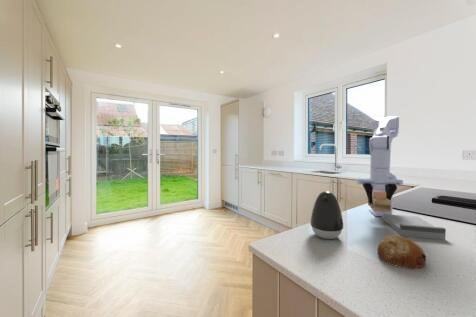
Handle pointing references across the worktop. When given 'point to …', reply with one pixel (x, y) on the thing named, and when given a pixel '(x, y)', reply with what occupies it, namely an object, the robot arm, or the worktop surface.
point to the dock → (414, 227)
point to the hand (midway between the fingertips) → (378, 203)
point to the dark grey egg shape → (326, 216)
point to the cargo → (379, 194)
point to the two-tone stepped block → (380, 205)
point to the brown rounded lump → (401, 252)
